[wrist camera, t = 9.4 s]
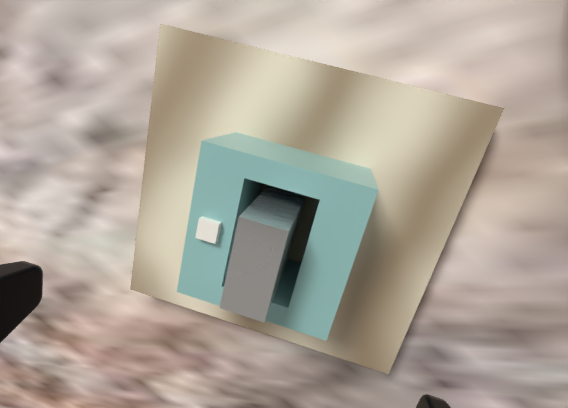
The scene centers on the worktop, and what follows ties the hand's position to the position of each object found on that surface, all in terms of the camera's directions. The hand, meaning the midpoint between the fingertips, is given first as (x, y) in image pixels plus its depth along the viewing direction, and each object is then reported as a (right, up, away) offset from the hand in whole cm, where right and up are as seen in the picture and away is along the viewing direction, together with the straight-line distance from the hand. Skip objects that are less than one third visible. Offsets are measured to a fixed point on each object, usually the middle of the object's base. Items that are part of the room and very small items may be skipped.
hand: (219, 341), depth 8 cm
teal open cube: (+2, +3, +9) cm, 9 cm away
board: (+2, +3, +10) cm, 11 cm away
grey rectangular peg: (+1, +3, +9) cm, 9 cm away
